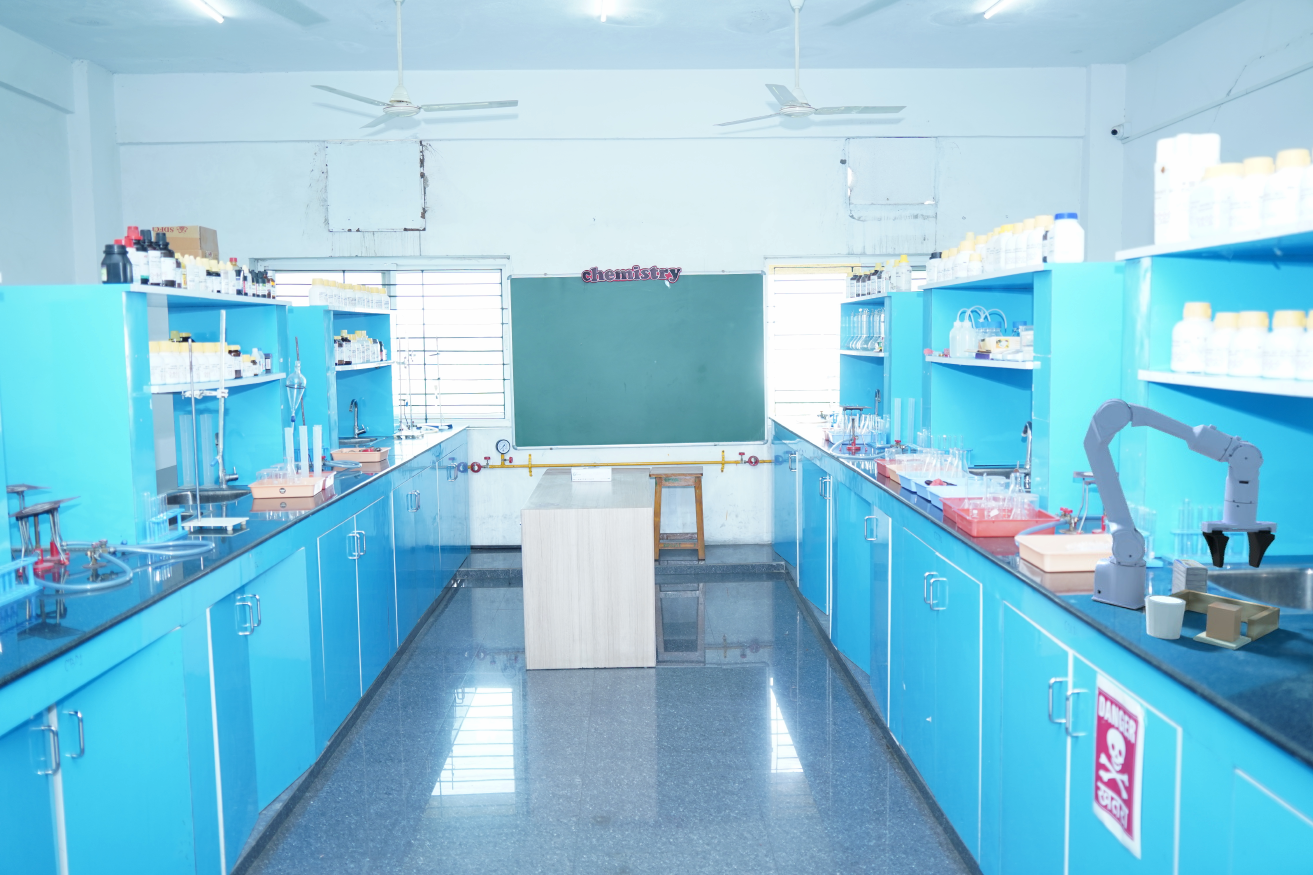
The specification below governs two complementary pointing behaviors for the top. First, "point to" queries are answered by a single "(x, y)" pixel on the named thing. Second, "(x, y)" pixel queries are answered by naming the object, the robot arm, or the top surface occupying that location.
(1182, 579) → the medicine box
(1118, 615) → the top surface
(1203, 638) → the rubber mat
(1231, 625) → the terracotta block
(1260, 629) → the birch pen
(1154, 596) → the white cup
